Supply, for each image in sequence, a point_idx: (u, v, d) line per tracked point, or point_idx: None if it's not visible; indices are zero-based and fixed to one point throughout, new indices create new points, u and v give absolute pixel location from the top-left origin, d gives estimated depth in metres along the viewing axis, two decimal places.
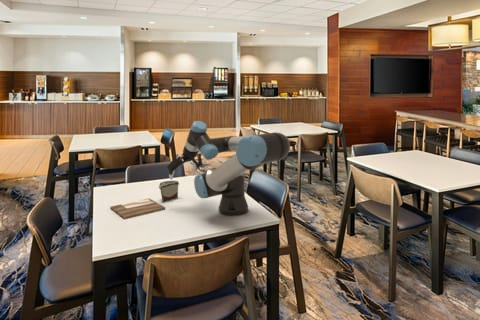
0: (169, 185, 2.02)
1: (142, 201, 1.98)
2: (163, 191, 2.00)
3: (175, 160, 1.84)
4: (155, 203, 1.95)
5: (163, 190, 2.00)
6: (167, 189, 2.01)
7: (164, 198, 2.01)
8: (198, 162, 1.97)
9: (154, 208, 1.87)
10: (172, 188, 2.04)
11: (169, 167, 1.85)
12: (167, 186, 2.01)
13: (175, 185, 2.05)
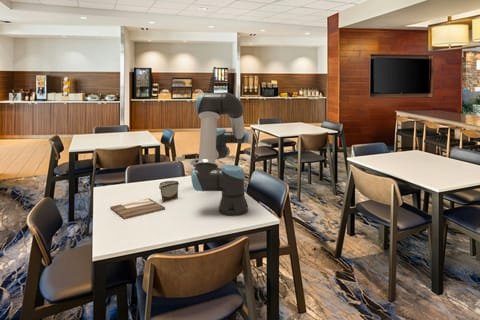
0: (169, 185, 2.02)
1: (142, 201, 1.98)
2: (163, 191, 2.00)
3: None
4: (155, 203, 1.95)
5: (163, 190, 2.00)
6: (167, 189, 2.01)
7: (164, 198, 2.01)
8: None
9: (154, 208, 1.87)
10: (172, 188, 2.04)
11: None
12: (167, 186, 2.01)
13: (175, 185, 2.05)
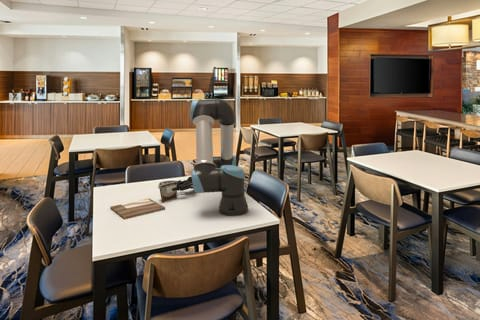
0: (168, 185, 2.02)
1: (142, 201, 1.98)
2: (163, 191, 2.00)
3: None
4: (155, 203, 1.95)
5: (162, 190, 2.00)
6: None
7: (164, 198, 2.01)
8: None
9: (154, 208, 1.87)
10: None
11: None
12: (166, 186, 2.01)
13: (174, 185, 2.05)
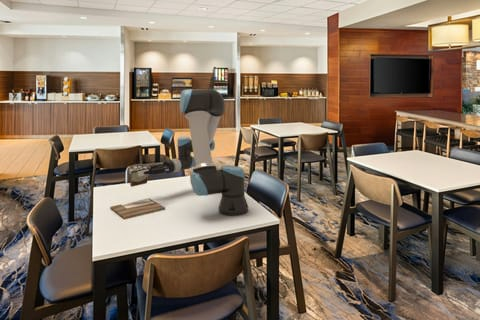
0: (140, 170, 1.92)
1: (142, 201, 1.98)
2: (133, 176, 1.90)
3: None
4: (155, 203, 1.95)
5: (133, 175, 1.90)
6: (137, 174, 1.92)
7: (132, 183, 1.92)
8: None
9: (154, 208, 1.87)
10: None
11: None
12: None
13: None
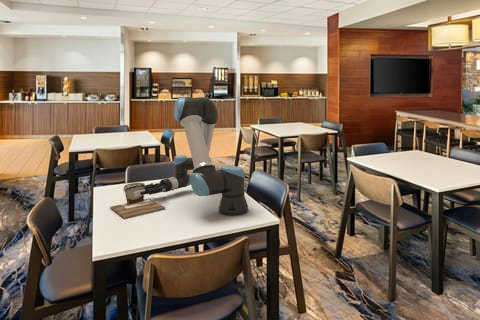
0: (134, 187, 1.93)
1: None
2: (128, 193, 1.91)
3: None
4: (155, 203, 1.95)
5: (128, 192, 1.91)
6: (132, 191, 1.93)
7: (129, 201, 1.92)
8: (150, 192, 1.96)
9: (154, 208, 1.87)
10: (138, 190, 1.95)
11: None
12: (132, 188, 1.93)
13: (141, 187, 1.96)
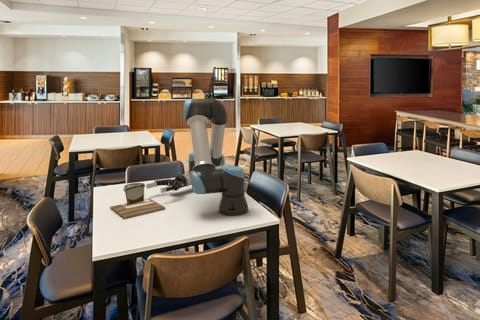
0: (134, 187, 1.93)
1: None
2: (128, 193, 1.91)
3: None
4: (155, 203, 1.95)
5: (128, 193, 1.91)
6: (132, 191, 1.93)
7: (129, 201, 1.92)
8: None
9: (154, 208, 1.87)
10: (138, 190, 1.95)
11: None
12: (132, 188, 1.92)
13: (141, 187, 1.96)
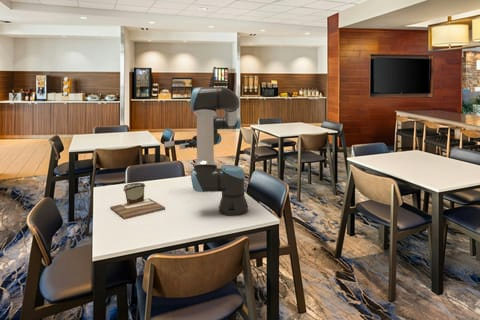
0: (134, 187, 1.93)
1: None
2: (128, 193, 1.91)
3: None
4: (155, 203, 1.95)
5: (128, 193, 1.91)
6: (132, 191, 1.93)
7: (129, 201, 1.92)
8: None
9: (154, 208, 1.87)
10: (138, 190, 1.95)
11: None
12: (132, 188, 1.92)
13: (141, 187, 1.96)
